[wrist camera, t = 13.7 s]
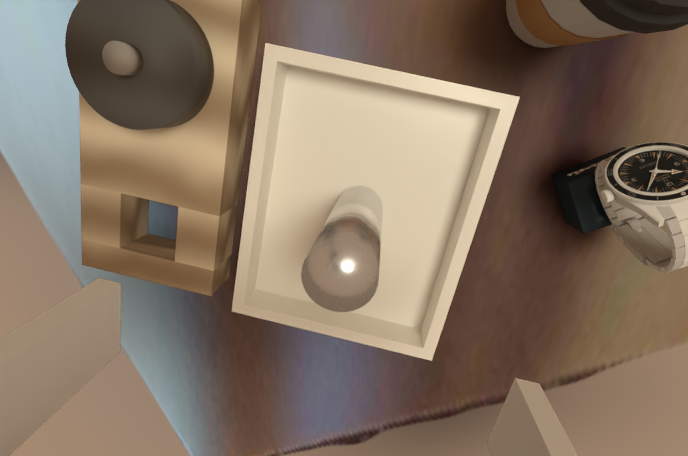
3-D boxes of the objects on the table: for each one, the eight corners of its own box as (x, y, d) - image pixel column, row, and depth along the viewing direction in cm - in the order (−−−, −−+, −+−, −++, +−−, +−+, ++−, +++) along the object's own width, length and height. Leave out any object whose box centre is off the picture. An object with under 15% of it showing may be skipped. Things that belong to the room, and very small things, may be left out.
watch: (616, 123, 30) (738, 133, 19) (642, 216, 32) (766, 270, 21) (542, 153, 31) (620, 178, 21) (571, 241, 33) (655, 303, 22)
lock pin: (341, 181, 32) (308, 232, 19) (388, 191, 32) (386, 251, 19) (332, 225, 34) (295, 302, 20) (377, 235, 34) (368, 319, 20)
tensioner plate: (116, -27, 31) (22, -72, 23) (261, 4, 30) (217, -32, 22) (112, 248, 38) (41, 285, 30) (229, 277, 38) (187, 321, 30)
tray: (280, 50, 31) (265, 42, 27) (503, 98, 30) (519, 97, 26) (247, 290, 38) (231, 311, 34) (427, 334, 37) (431, 360, 33)
